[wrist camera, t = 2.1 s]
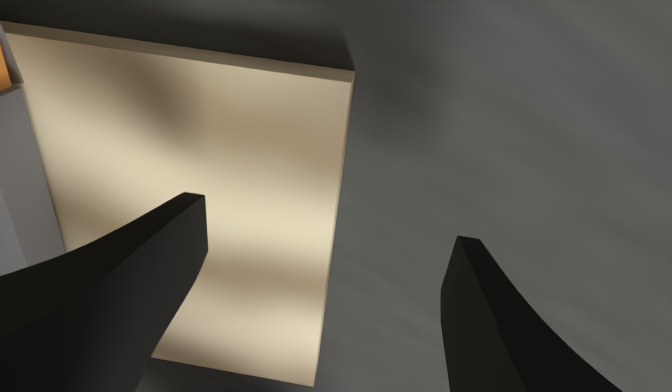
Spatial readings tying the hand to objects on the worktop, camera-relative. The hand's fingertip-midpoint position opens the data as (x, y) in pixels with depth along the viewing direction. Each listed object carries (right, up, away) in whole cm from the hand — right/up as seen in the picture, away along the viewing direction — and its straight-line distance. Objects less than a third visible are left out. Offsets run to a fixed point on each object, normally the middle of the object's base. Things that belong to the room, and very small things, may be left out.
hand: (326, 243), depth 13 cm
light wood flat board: (-11, +1, +5) cm, 12 cm away
